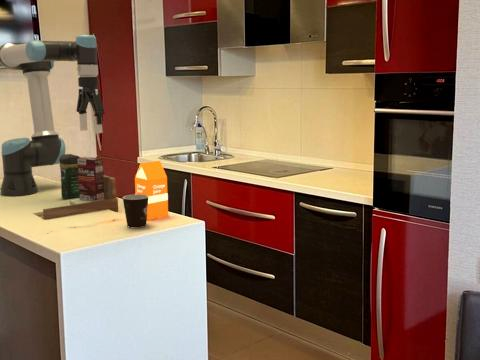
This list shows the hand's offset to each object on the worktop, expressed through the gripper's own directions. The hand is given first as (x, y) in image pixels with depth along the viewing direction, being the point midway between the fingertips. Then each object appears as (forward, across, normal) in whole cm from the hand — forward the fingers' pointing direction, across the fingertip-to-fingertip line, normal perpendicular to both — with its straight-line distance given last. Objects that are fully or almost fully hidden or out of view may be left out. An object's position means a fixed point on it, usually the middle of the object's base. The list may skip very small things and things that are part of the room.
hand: (91, 131), depth 232 cm
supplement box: (+24, +12, -7) cm, 28 cm away
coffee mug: (+29, +41, -5) cm, 50 cm away
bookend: (+26, +12, -14) cm, 32 cm away
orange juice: (+29, +33, +7) cm, 44 cm away
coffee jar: (+29, -15, -3) cm, 33 cm away
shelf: (+29, +12, -13) cm, 34 cm away
